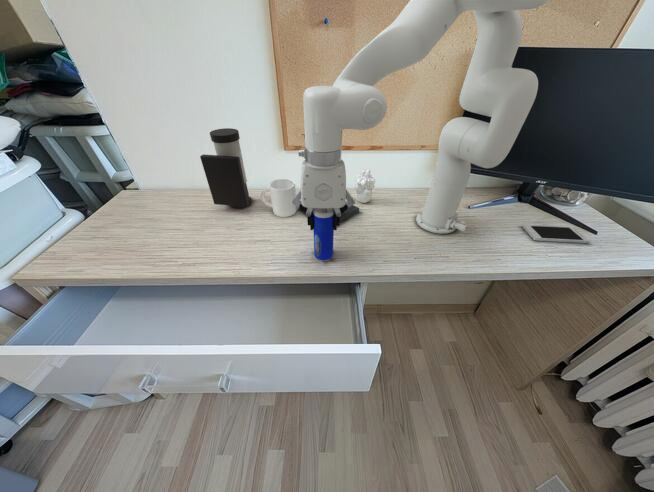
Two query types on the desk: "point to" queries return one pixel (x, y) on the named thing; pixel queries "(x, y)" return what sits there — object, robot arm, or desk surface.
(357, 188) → the figurine
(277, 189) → the mug
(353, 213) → the scale
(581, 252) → the desk surface
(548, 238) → the smartphone
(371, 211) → the desk surface
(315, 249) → the beverage can
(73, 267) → the desk surface
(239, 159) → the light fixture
